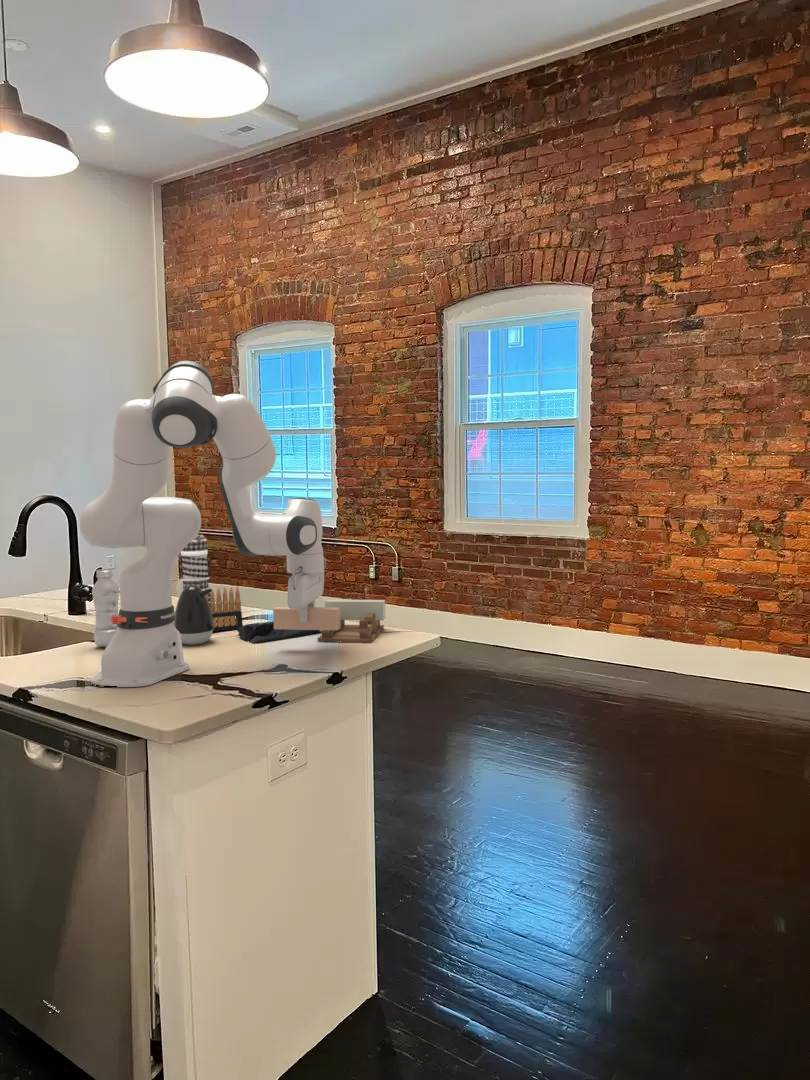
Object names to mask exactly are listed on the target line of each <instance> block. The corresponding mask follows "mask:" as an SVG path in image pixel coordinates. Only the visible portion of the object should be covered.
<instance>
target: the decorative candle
mask: <svg viewBox="0 0 810 1080" xmlns="http://www.w3.org/2000/svg"><path fill="white" fill-rule="evenodd" d="M207 541H208V539H207V538H206V536H205V535H203V534H197V536H196V537H195V538H194V539H193V540H192V541H191V542H190V543H188V544H187V545H186V546H185V547H184V548H183V550H182V551H181V552H180V554H179V556H178V558H179V559H178V562H180V564H179V568H180V571H179V573H180V574H181V575H182V576H180V577H181V578H180V579H181V581H182V587H183V588H182V591H183V590H184V588H186V587H187V586H190V585H195V586H198V587H200V588H201V589H202V591H203V590H205V589H209V588H210V587H209V584H210V583H209V580H210V578H211V574H209V573H210V572H211V570H210V569H209V568H208V567H210V566H211V563H210V560H211V558H210V557H208V554H209V549H208V548H207V547H208V545H207ZM208 602H209V605H210V593H209V594H208Z"/></svg>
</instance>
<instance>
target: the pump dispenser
mask: <svg viewBox="0 0 810 1080" xmlns="http://www.w3.org/2000/svg"><path fill="white" fill-rule="evenodd" d="M211 589H212V588H210V587H209V589H206V590H203V591H202V589H201V588H200V587H198V586H195V585H190V586H187V587H186V588H184V590H183V589H182V591H181V593H180V595H179V597H178V600H177V604H176V606H175V610H174V611H175V621H174V622H173V623H174V625H175V627H176V629H177V630H178V631H179V632H180V635H181V642H182V645H186V646H198V644H199V645H202V644H206V643H207V642H208V641H209V640H210V639H211V638H212V636H213V629H214V620H213V615H212V611H211V607H210V605H209V603H210V602H208V600H207V597H206V595H207V594H209V593H210V592H212V590H211Z"/></svg>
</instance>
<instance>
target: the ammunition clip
mask: <svg viewBox="0 0 810 1080" xmlns="http://www.w3.org/2000/svg"><path fill="white" fill-rule="evenodd" d="M210 589H211V590H212V592H210V597H209V598H210V602H209V603H210V607H211V611H212V615H213V620H214V629H213V631H216V632H220V631H219V630H226V631H231V630H230V629H236V630H238V628H239V627H242V626H244V625H243V624H244V623H243V614H242V613H243V612H242V600H241V593H240V589H239V586H236V587H235V593H234V591H233V587H232V586H230V588H229V593H228V592H227V589H226V587H223V589H222V595H221V590H220V588H219V587H218V588H217V591H216V598H215V592H214V590H213V588H210ZM205 590H206V589H205ZM234 594H235V597H234ZM206 597H207V600H208V594H207V595H206ZM228 597H229V598H228ZM215 599H216V600H215Z"/></svg>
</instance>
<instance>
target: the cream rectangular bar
mask: <svg viewBox="0 0 810 1080" xmlns="http://www.w3.org/2000/svg"><path fill="white" fill-rule="evenodd" d="M324 607H337V608H340V620H345V621H360V620H364V616H366V615H367V614H368V613H374V614H375V620H380V621H384V620H386V618H387V617H386V599H327V600H325V601H324Z"/></svg>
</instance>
